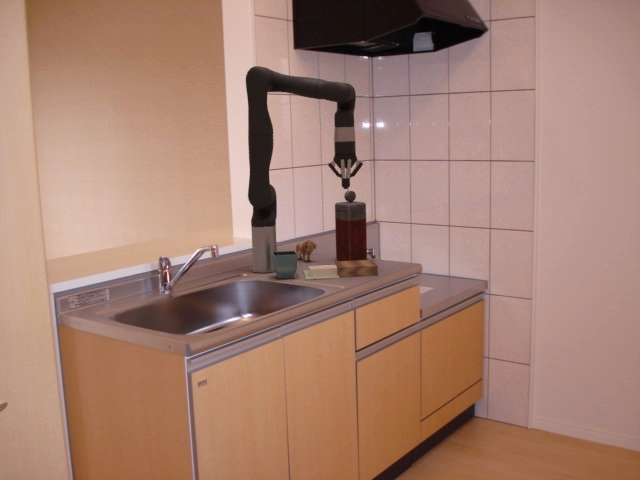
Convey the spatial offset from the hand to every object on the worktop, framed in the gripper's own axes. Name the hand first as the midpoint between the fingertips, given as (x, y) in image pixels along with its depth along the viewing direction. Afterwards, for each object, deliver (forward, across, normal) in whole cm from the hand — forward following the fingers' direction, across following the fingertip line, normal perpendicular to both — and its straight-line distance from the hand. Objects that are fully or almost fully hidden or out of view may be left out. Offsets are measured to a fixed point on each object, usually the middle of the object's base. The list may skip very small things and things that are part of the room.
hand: (345, 188), depth 259 cm
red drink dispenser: (+31, +4, +26) cm, 41 cm away
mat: (+31, -10, 0) cm, 33 cm away
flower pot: (+31, -23, -2) cm, 39 cm away
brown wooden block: (+31, +3, 0) cm, 31 cm away
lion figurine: (+31, -14, +30) cm, 46 cm away
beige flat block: (+31, -9, 0) cm, 32 cm away
